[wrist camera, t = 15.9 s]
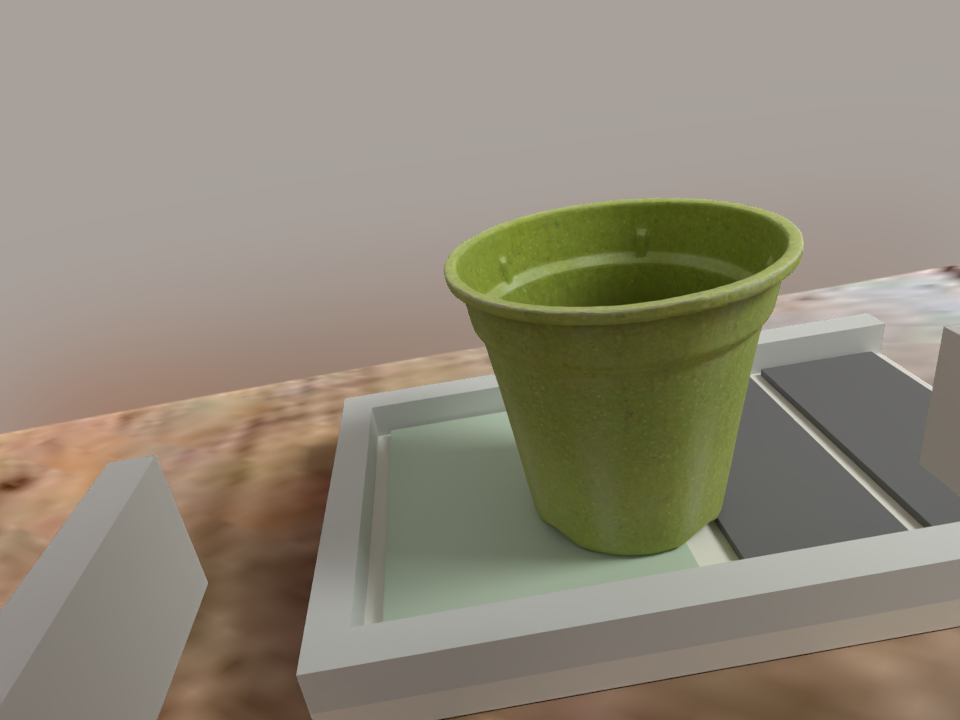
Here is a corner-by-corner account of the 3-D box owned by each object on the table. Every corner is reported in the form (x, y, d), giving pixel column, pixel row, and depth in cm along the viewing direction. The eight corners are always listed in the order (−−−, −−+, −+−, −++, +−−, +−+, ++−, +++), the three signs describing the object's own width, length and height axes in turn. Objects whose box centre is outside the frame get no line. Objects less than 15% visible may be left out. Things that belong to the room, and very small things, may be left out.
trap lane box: (861, 362, 30) (867, 313, 29) (1182, 586, 18) (1212, 514, 17) (357, 445, 30) (345, 398, 29) (319, 740, 17) (296, 675, 16)
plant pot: (829, 600, 17) (869, 283, 14) (469, 609, 19) (414, 322, 15) (739, 413, 26) (748, 184, 22) (495, 428, 27) (464, 216, 23)
